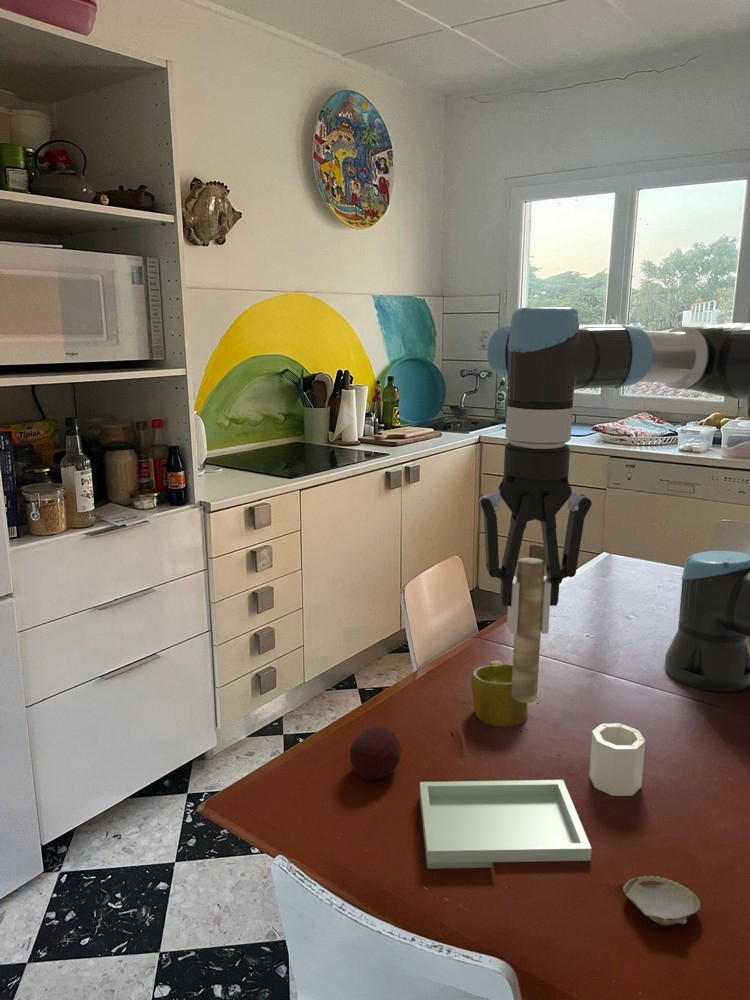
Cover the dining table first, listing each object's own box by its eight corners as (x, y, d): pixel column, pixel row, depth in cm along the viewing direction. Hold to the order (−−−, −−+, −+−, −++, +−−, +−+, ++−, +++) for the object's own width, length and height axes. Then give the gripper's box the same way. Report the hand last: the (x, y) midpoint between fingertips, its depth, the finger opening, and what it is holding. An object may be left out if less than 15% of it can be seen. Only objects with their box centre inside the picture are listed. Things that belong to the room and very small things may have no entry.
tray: (562, 795, 108) (563, 779, 107) (590, 865, 94) (591, 848, 93) (419, 797, 107) (419, 781, 107) (427, 868, 94) (427, 851, 93)
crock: (630, 772, 113) (634, 723, 111) (645, 800, 106) (650, 748, 104) (585, 772, 113) (588, 723, 111) (598, 800, 106) (601, 749, 104)
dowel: (533, 690, 99) (541, 557, 95) (539, 702, 96) (547, 565, 92) (509, 690, 99) (515, 557, 95) (513, 702, 96) (520, 565, 92)
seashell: (690, 908, 90) (622, 876, 92) (699, 886, 89) (631, 854, 92) (692, 952, 82) (618, 915, 85) (702, 927, 82) (627, 891, 84)
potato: (340, 784, 111) (339, 746, 109) (365, 747, 120) (365, 711, 119) (388, 794, 108) (388, 755, 107) (410, 755, 118) (410, 719, 116)
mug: (538, 728, 121) (521, 667, 121) (476, 740, 124) (459, 680, 124) (542, 705, 133) (527, 649, 133) (485, 716, 136) (470, 662, 136)
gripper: (596, 437, 94) (583, 617, 99) (464, 437, 93) (458, 617, 99) (616, 448, 86) (601, 641, 92) (472, 447, 86) (466, 641, 92)
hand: (527, 628), depth 95 cm, fingers closed on dowel, 3 cm apart
